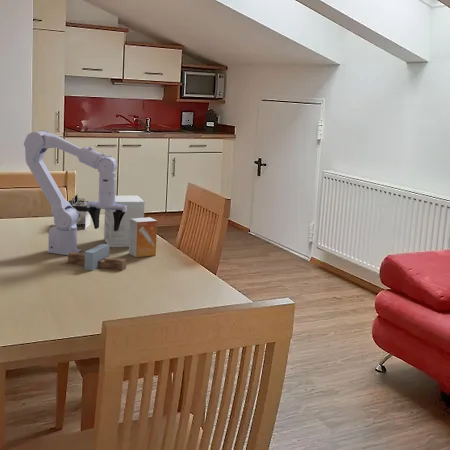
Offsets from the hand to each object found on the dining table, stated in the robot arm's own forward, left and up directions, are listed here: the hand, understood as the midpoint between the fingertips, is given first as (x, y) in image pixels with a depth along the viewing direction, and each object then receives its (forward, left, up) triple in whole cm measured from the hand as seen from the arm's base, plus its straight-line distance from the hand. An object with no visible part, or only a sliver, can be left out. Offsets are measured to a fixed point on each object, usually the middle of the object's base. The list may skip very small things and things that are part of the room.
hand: (106, 229), depth 228 cm
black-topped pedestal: (-29, +35, -10) cm, 47 cm away
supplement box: (-2, +19, -10) cm, 21 cm away
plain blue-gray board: (+3, -13, -9) cm, 16 cm away
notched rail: (+3, -13, -9) cm, 16 cm away
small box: (+11, +7, -10) cm, 16 cm away
